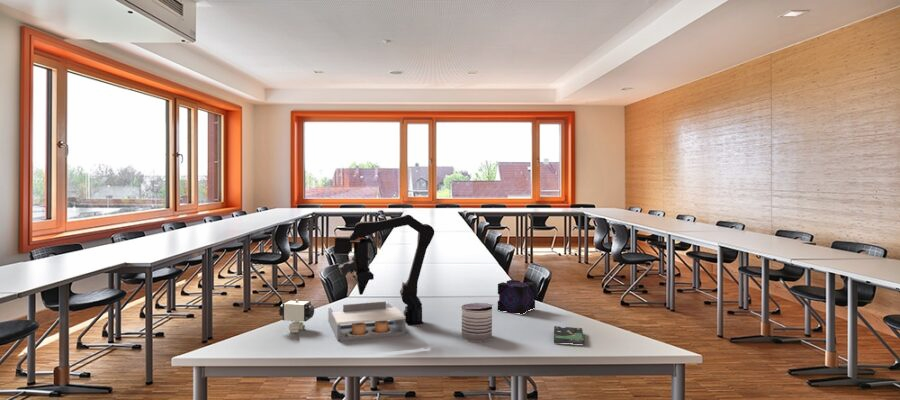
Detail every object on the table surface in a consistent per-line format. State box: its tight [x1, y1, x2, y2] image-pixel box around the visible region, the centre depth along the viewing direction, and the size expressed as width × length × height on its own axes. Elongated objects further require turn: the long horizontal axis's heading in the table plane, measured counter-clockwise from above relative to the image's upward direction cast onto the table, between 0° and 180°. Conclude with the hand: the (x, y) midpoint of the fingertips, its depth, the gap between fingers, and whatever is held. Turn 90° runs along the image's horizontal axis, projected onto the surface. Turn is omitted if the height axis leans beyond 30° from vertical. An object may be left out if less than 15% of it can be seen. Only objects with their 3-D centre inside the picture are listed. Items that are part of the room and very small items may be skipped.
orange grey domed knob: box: [352, 322, 367, 335], centre depth 176 cm, size 5×5×5 cm
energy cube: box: [497, 279, 536, 314], centre depth 217 cm, size 12×12×12 cm
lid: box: [332, 301, 405, 325], centre depth 180 cm, size 24×14×3 cm, turn 110°
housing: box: [327, 303, 406, 342], centre depth 185 cm, size 24×27×6 cm
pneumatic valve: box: [278, 298, 315, 334], centre depth 183 cm, size 6×12×12 cm, turn 83°
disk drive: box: [553, 325, 585, 345], centre depth 177 cm, size 10×3×15 cm
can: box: [460, 302, 494, 343], centre depth 178 cm, size 11×11×12 cm
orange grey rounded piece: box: [374, 320, 390, 333], centre depth 179 cm, size 5×5×5 cm
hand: (360, 294), depth 193 cm, fingers closed
